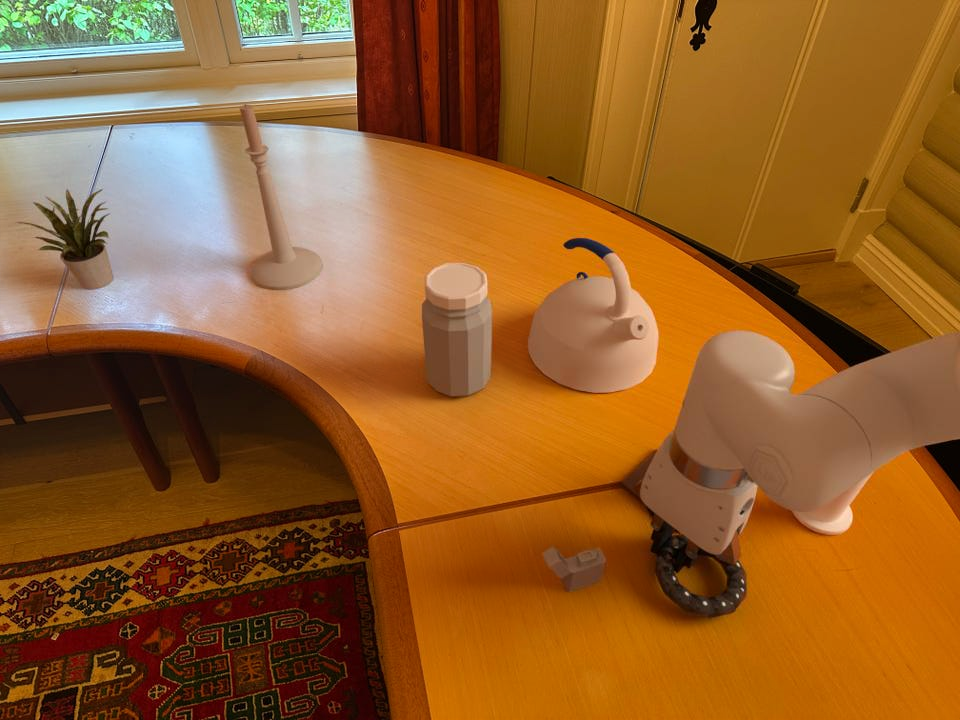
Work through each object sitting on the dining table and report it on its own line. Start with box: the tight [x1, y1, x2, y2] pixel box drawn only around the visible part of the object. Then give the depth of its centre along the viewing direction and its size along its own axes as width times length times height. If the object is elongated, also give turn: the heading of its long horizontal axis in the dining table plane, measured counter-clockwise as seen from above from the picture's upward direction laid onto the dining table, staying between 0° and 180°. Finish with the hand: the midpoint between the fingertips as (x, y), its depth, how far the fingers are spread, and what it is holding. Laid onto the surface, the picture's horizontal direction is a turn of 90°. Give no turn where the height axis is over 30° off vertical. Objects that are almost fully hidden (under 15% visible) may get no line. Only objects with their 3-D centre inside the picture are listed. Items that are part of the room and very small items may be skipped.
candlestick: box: [239, 103, 324, 291], centre depth 102 cm, size 13×13×30 cm
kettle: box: [527, 237, 659, 394], centre depth 90 cm, size 20×21×18 cm
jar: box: [421, 262, 493, 398], centre depth 85 cm, size 10×10×18 cm
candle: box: [790, 473, 873, 536], centre depth 66 cm, size 7×7×25 cm
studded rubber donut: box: [653, 533, 748, 619], centre depth 66 cm, size 10×10×2 cm
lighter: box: [541, 545, 607, 593], centre depth 64 cm, size 7×2×8 cm, turn 109°
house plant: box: [16, 188, 115, 290], centre depth 104 cm, size 14×14×16 cm
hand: (671, 554), depth 69 cm, fingers closed on studded rubber donut, 2 cm apart
